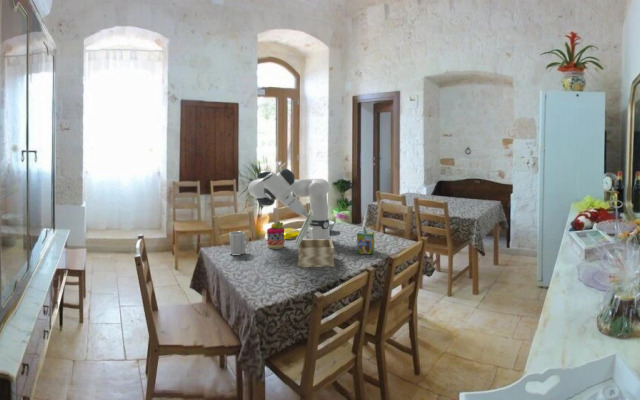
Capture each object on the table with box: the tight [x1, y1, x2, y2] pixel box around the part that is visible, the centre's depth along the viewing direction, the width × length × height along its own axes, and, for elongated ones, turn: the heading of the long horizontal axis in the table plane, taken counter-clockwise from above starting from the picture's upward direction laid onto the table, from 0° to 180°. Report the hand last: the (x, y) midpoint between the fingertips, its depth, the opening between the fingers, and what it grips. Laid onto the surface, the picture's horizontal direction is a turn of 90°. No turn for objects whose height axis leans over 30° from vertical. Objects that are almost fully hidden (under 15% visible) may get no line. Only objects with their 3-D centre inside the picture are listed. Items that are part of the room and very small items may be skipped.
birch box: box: [297, 238, 335, 268], centre depth 245 cm, size 18×20×10 cm
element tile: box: [283, 227, 301, 240], centre depth 308 cm, size 15×15×5 cm
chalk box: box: [356, 225, 375, 255], centre depth 264 cm, size 9×9×15 cm
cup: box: [228, 231, 249, 255], centre depth 263 cm, size 10×9×12 cm
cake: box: [266, 221, 286, 250], centre depth 278 cm, size 10×10×15 cm
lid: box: [295, 208, 314, 249], centre depth 243 cm, size 18×20×1 cm
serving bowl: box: [328, 220, 335, 232], centre depth 322 cm, size 21×21×7 cm
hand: (308, 216), depth 242 cm, fingers closed, pressing on lid
